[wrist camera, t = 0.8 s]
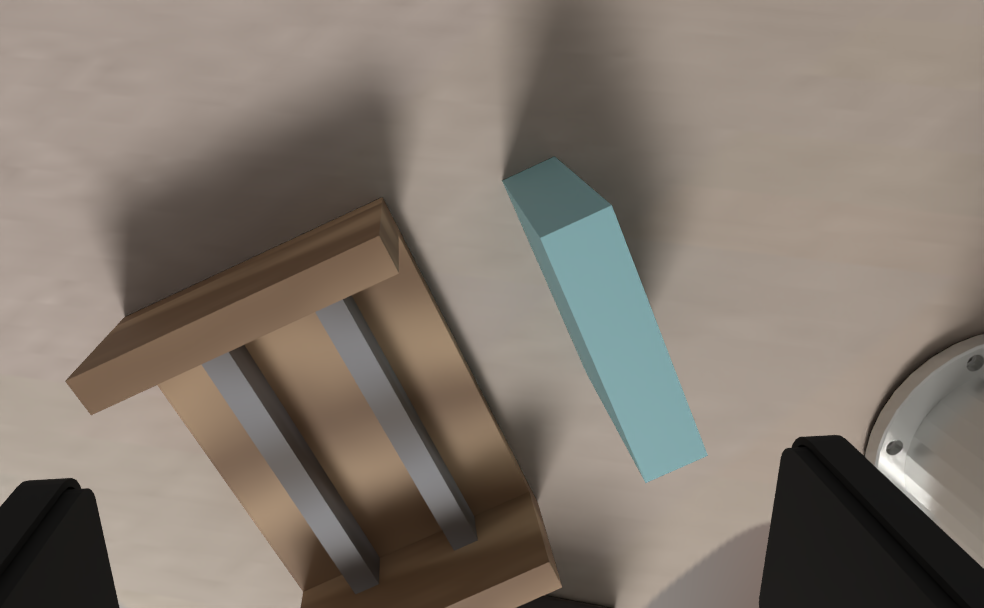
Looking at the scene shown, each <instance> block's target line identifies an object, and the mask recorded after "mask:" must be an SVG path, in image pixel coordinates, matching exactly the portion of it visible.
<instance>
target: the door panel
mask: <svg viewBox="0 0 984 608" xmlns="http://www.w3.org/2000/svg"><path fill="white" fill-rule="evenodd" d="M503 184H504V186H505V188H506V190H507V193H508V195H509V197H510V200H511V202H512V204H513V206H514V209H515V211H516V213H517V216H518V218H519V220H520V222H521V225H522V227H523V229H524V232H525V234H526V236H527V238H528V241H529V243H530V245H531V247H532V250H533V252H534V254H535V257H536V259H537V261H538V263H539V266H540V268H541V270H542V273H543V275H544V277H545V279H546V282H547V284H548V286H549V289H550V291H551V293H552V295H553V298H554V300H555V302H556V305H557V307H558V309H559V311H560V314H561V316H562V318H563V321H564V323H565V325H566V327H567V330H568V332H569V334H570V337H571V339H572V341H573V343H574V346H575V348H576V350H577V352H578V355H579V357H580V359H581V362H582V364H583V366H584V368H585V371H586V373H587V375H588V377H589V379H590V380H591V382H592V384H593V386H594V388H595V390H596V392H597V394H598V395H599V397H600V399H601V401H602V403H603V405H604V407H605V408H606V410H607V412H608V414H609V416H610V418H611V420H612V421H613V423H614V425H615V427H616V429H617V431H618V433H619V434H620V436H621V438H622V440H623V442H624V444H625V446H626V447H627V449H628V451H629V453H630V455H631V457H632V459H633V460H634V462H635V464H636V466H637V468H638V470H639V472H640V473H641V475H642V477H643V479H644V481H645V483H647V482H649V481H651V480H654V479H656V478H658V477H660V476H663V475H665V474H667V473H669V472H672V471H674V470H676V469H679V468H681V467H683V466H685V465H688V464H690V463H692V462H694V461H697V460H699V459H701V458H704V457H706V456H708V455H707V453H706V450H705V447H704V445H703V442H702V439H701V437H700V434H699V432H698V429H697V426H696V424H695V421H694V419H693V416H692V413H691V411H690V408H689V406H688V403H687V400H686V398H685V395H684V393H683V390H682V387H681V385H680V382H679V379H678V377H677V374H676V372H675V369H674V366H673V364H672V361H671V359H670V356H669V353H668V351H667V348H666V346H665V343H664V340H663V338H662V335H661V333H660V330H659V327H658V325H657V322H656V319H655V317H654V314H653V312H652V309H651V306H650V304H649V301H648V299H647V296H646V293H645V291H644V288H643V286H642V283H641V280H640V278H639V275H638V273H637V270H636V267H635V265H634V262H633V260H632V257H631V254H630V252H629V249H628V246H627V244H626V241H625V239H624V236H623V233H622V231H621V228H620V226H619V223H618V220H617V218H616V215H615V213H614V210H613V207H612V205H611V204H610V203H608V202H607V201H606V200H605V199H604V198H603V197H601V196H600V195H599V194H598V193H597V192H596V191H594V190H593V189H592V188H591V187H590V186H589V185H587V184H586V183H585V182H584V181H583V180H582V179H580V178H579V177H578V176H577V175H576V174H575V173H573V172H572V171H571V170H570V169H569V168H567V167H566V166H565V165H564V164H563V163H562V162H560V161H559V160H558V159H557V158H556V157H555V156H554V157H552V158H550V159H548V160H546V161H544V162H541V163H539V164H537V165H535V166H533V167H531V168H528V169H526V170H524V171H522V172H520V173H518V174H515V175H513V176H511V177H509V178H507V179H505V180H503Z"/></svg>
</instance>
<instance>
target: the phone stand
mask: <svg viewBox="0 0 984 608" xmlns="http://www.w3.org/2000/svg"><path fill="white" fill-rule="evenodd" d="M516 608H608V607H603V606H597V605H592V604H587V603H582V602H576V601H571V600H566V599H561V598H555V597H550V596H545V595H544V596H541V597H539V598H537V599H534V600H532V601H530V602H528V603H525V604H523V605H521V606H518V607H516Z"/></svg>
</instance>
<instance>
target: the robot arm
mask: <svg viewBox="0 0 984 608" xmlns="http://www.w3.org/2000/svg"><path fill="white" fill-rule="evenodd" d="M0 608H119V604H118V599H117V595H116V590H115V586H114V581H113V576H112V572H111V567H110V563H109V558H108V553H107V549H106V544H105V540H104V535H103V530H102V526H101V521H100V517H99V512H98V507H97V503H96V499H95V496H94V493H93V492H92V490H90V489H88V488H87V489H81V487H80V484H79V483H78V482H77V480H75V479H73V478H64V479H46V480H29V481H24V482H22V483H21V484H20V485H19V486H18V487H17V488H16V489H15V490H14V491H13V492H12V494H11V495H10V496H9V497H8V498H7V499H6V501H5V502H4V503H3V504H2V505H1V507H0ZM759 608H984V334H981V335H977V336H974V337H972V338H969V339H967V340H964V341H962V342H959V343H957V344H954V345H952V346H951V347H949V348H947V349H946V350H944V351H942V352H940V353H939V354H937V355H935V356H933V357H932V358H931V359H929V360H928V361H927V362H926V363H924V364H923V365H922V366H920V367H919V368H918V369H917V370H915V371H914V372H913V373H912V374H911V375H910V376H909V377H908V378H907V379H906V380H905V381H904V382H903V383H902V384H901V385H900V387H899V388H898V389H897V390H896V391H895V392H894V393H893V395H892V396H891V398H890V399H889V401H888V402H887V404H886V405H885V406H884V408H883V409H882V411H881V412H880V415H879V417H878V419H877V421H876V423H875V425H874V427H873V429H872V431H871V434H870V438H869V442H868V446H867V449H866V453H865V457H864V456H863V455H862V454H861V453H860V452H859V451H858V450H857V449H856V448H855V447H854V446H853V445H852V444H851V443H849V442H848V441H847V440H846V439H845V438H843V437H842V436H840V435H827V436H810V437H799V438H797V439H796V440H795V441H794V443H793V445H792V448H787V449H785V450H784V451H783V453H782V456H781V460H780V467H779V473H778V480H777V486H776V493H775V499H774V506H773V512H772V519H771V525H770V532H769V538H768V545H767V551H766V557H765V564H764V570H763V577H762V584H761V590H760V596H759Z"/></svg>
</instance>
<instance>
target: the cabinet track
mask: <svg viewBox="0 0 984 608" xmlns="http://www.w3.org/2000/svg"><path fill="white" fill-rule="evenodd" d="M66 383H67V384H68V385H69V387H70V388H71V389H72V391H73V392H74V393H75V395H76V396H77V397H78V399H79V400H80V401H81V403H82V404H83V405H84V406H85V408H86V409H87V410H88V412H89V413H90V414H91V415H93V414H95V413H97V412H99V411H101V410H104V409H106V408H108V407H110V406H112V405H114V404H117V403H119V402H121V401H123V400H125V399H127V398H130V397H132V396H134V395H136V394H138V393H141V392H143V391H145V390H147V389H149V388H151V387H154V386H156V385H158V387H159V388H160V389H161V391H162V392H163V394H164V395H165V397H166V398H167V399H168V401H169V402H170V404H171V405H172V406H173V408H174V409H175V411H176V412H177V414H178V415H179V416H180V418H181V419H182V421H183V422H184V423H185V425H186V426H187V428H188V429H189V431H190V432H191V433H192V435H193V436H194V438H195V439H196V440H197V442H198V443H199V445H200V446H201V448H202V449H203V450H204V452H205V453H206V455H207V456H208V457H209V459H210V460H211V462H212V463H213V465H214V466H215V467H216V469H217V470H218V472H219V473H220V474H221V476H222V477H223V479H224V480H225V482H226V483H227V484H228V486H229V487H230V489H231V490H232V491H233V493H234V494H235V496H236V497H237V499H238V500H239V501H240V503H241V504H242V506H243V507H244V508H245V510H246V511H247V513H248V514H249V516H250V517H251V518H252V520H253V521H254V523H255V524H256V526H257V527H258V528H259V530H260V531H261V533H262V534H263V535H264V537H265V538H266V540H267V541H268V543H269V544H270V545H271V547H272V548H273V550H274V551H275V552H276V554H277V555H278V557H279V558H280V560H281V561H282V562H283V564H284V565H285V567H286V568H287V569H288V571H289V572H290V574H291V575H292V577H293V578H294V579H295V581H296V582H297V584H298V585H299V586H300V588H301V589H302V591H303V597H302V603H301V608H516V607H518V606H521V605H523V604H525V603H528V602H530V601H532V600H534V599H537V598H539V597H541V596H544V595H546V594H548V593H550V592H553V591H555V590H557V589H560V588H562V584H561V581H560V577H559V574H558V571H557V567H556V564H555V560H554V557H553V553H552V550H551V547H550V543H549V540H548V536H547V533H546V530H545V526H544V523H543V519H542V516H541V512H540V509H539V506H538V502H537V500H536V498H535V496H534V494H533V492H532V491H531V489H530V487H529V485H528V483H527V481H526V479H525V477H524V475H523V473H522V471H521V469H520V467H519V465H518V463H517V461H516V459H515V457H514V455H513V453H512V451H511V449H510V447H509V445H508V443H507V441H506V439H505V437H504V435H503V433H502V431H501V430H500V428H499V426H498V424H497V422H496V420H495V418H494V416H493V414H492V412H491V410H490V408H489V406H488V404H487V402H486V400H485V398H484V396H483V394H482V392H481V390H480V388H479V386H478V384H477V382H476V380H475V378H474V376H473V374H472V372H471V370H470V369H469V367H468V365H467V363H466V361H465V359H464V357H463V355H462V353H461V351H460V349H459V347H458V345H457V343H456V341H455V339H454V337H453V335H452V333H451V331H450V329H449V327H448V325H447V323H446V321H445V319H444V317H443V315H442V313H441V311H440V309H439V308H438V306H437V304H436V302H435V300H434V298H433V296H432V294H431V292H430V290H429V288H428V286H427V284H426V282H425V280H424V278H423V276H422V274H421V272H420V270H419V268H418V266H417V264H416V262H415V260H414V258H413V256H412V254H411V252H410V250H409V248H408V247H407V245H406V243H405V241H404V239H403V237H402V235H401V233H400V231H399V229H398V227H397V225H396V223H395V221H394V219H393V217H392V215H391V213H390V211H389V209H388V207H387V205H386V203H385V201H384V199H383V197H382V198H380V199H377V200H375V201H373V202H371V203H369V204H367V205H364V206H362V207H360V208H358V209H356V210H354V211H352V212H349V213H347V214H345V215H343V216H341V217H339V218H337V219H334V220H332V221H330V222H328V223H326V224H324V225H322V226H319V227H317V228H315V229H313V230H311V231H309V232H306V233H304V234H302V235H300V236H298V237H296V238H294V239H291V240H289V241H287V242H285V243H283V244H281V245H279V246H276V247H274V248H272V249H270V250H268V251H266V252H264V253H261V254H259V255H257V256H255V257H253V258H251V259H249V260H246V261H244V262H242V263H240V264H238V265H236V266H233V267H231V268H229V269H227V270H225V271H223V272H221V273H218V274H216V275H214V276H212V277H210V278H208V279H206V280H203V281H201V282H199V283H197V284H195V285H193V286H191V287H188V288H186V289H184V290H182V291H180V292H178V293H175V294H173V295H171V296H169V297H167V298H165V299H163V300H160V301H158V302H156V303H154V304H152V305H150V306H148V307H145V308H143V309H141V310H139V311H137V312H135V313H133V314H130V315H128V316H126V317H124V318H123V319H122V320H121V321H120V323H119V324H118V325H117V326H116V327H115V328H114V329H113V330H112V331H111V332H110V333H109V334H108V335H107V337H106V338H105V339H104V340H103V341H102V342H101V343H100V344H99V345H98V346H97V347H96V348H95V350H94V351H93V352H92V353H91V354H90V355H89V356H88V357H87V358H86V359H85V360H84V361H83V362H82V364H81V365H80V366H79V367H78V368H77V369H76V370H75V371H74V372H73V373H72V374H71V375H70V376H69V378H68V379H67V380H66Z"/></svg>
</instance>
